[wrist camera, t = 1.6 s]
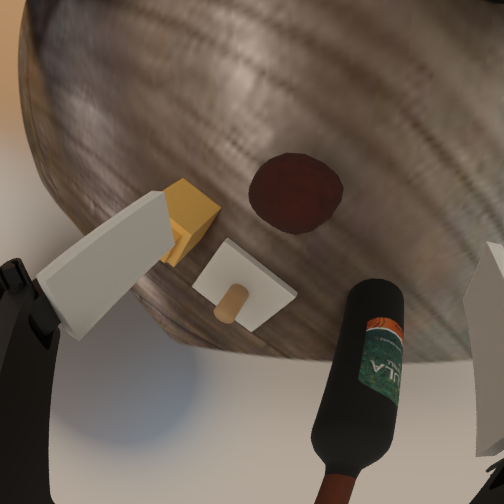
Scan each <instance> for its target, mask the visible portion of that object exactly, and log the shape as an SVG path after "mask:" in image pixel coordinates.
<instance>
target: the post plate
mask: <svg viewBox="0 0 504 504" xmlns="http://www.w3.org/2000/svg"><path fill="white" fill-rule="evenodd" d="M192 287H193V288H194V289H195V290H197V291H198V292H199V293H200V294H202V295H203V296H204V297H206V298H207V299H208V300H209V301H211V302H212V303H213V304H215V305H216V308H215V309H214V315H215V316H216V318H217V319H218V320H220V321H221V322H223V323H227V324H230V323H232V322H233V321H234V320H236V321H237V322H238V323H240V324H241V325H242V326H244V327H245V328H246V329H248V330H249V331H250V332H252V331H254V330H255V329H256V328H258V327H259V326H260V325H261V324H263V323H264V322H265V321H267V320H268V319H269V318H271V317H272V316H273V315H274V314H276V313H277V312H278V311H279V310H281V309H282V308H283V307H285V306H286V305H287V304H288V303H290V302H291V301H292V300H293V299H295V298H296V296H297V294H298V292H296V291H295V290H294V289H293V288H291V287H290V286H289V285H288V284H286V283H285V282H284V281H282V280H281V279H280V278H279V277H277V276H276V275H275V274H274V273H272V272H271V271H270V270H269V269H267V268H266V267H265V266H263V265H262V264H261V263H260V262H258V261H257V260H256V259H255V258H253V257H252V256H251V255H250V254H248V253H247V252H246V251H245V250H243V249H242V248H241V247H239V246H238V245H237V244H236V243H234V242H233V241H232V240H231V239H229V238H228V237H227V238H226V239H225V241H224V242H223V243H222V245H221V246H220V248H219V249H218V250H217V252H216V253H215V255H214V256H213V257H212V259H211V260H210V262H209V263H208V264H207V266H206V267H205V269H204V270H203V271H202V273H201V274H200V276H199V277H198V279H197V280H196V281H195V283H194V284H193V286H192Z"/></svg>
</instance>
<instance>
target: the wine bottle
mask: <svg viewBox="0 0 504 504" xmlns="http://www.w3.org/2000/svg"><path fill="white" fill-rule="evenodd" d="M403 333H404V299H403V295H402V292H401V291H400V289H399V288H398V287H397V286H396V285H394V284H393V283H391V282H389V281H386V280H383V279H369V280H365V281H362V282H360V283H358V284H357V285H355V286H354V287H353V289H352V290H351V291H350V293H349V296H348V300H347V304H346V309H345V314H344V318H343V322H342V327H341V331H340V335H339V339H338V343H337V347H336V351H335V355H334V359H333V362H332V366H331V370H330V373H329V377H328V381H327V384H326V388H325V391H324V394H323V397H322V401H321V404H320V407H319V410H318V413H317V416H316V419H315V422H314V425H313V428H312V433H311V442H312V445H313V448H314V451H315V452H316V454H317V455H318V456H319V457H320V458H321V459H322V461H323V462H324V463H325V465H326V468H325V469H326V470H325V476H324V479H323V482H322V484H321V487H320V490H319V493H318V496H317V498H316V500H315V503H314V504H348V503H349V500H350V496H351V494H352V491H353V487H354V484H355V481H356V479H357V477H358V475H359V473H360V471H361V470H362V469H363V468H365V467H367V466H369V465H371V464H372V463H374V462H376V461H377V460H379V459H380V458H381V457H382V456H383V455H384V454H385V453H386V452H387V451H388V449H389V448H390V445H391V443H392V440H393V435H394V429H395V423H396V416H397V409H398V401H399V391H400V382H401V371H402V356H403Z"/></svg>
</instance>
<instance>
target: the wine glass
mask: <svg viewBox="0 0 504 504" xmlns="http://www.w3.org/2000/svg"><path fill="white" fill-rule="evenodd" d="M487 1H491V2H494V3H501V4H503V3H504V0H487Z"/></svg>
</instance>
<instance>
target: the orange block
mask: <svg viewBox="0 0 504 504" xmlns="http://www.w3.org/2000/svg"><path fill="white" fill-rule="evenodd" d="M162 192H165V198H166V203H167V208H168V213H169V218H170V223H171V228H172V232H173V237H174V242H175V245H174V246H173V247H172V248H171V249H170V250H169V251H168V252H167V253H166V254H165V255H164V256H163V257H162V258H161V259H160V260H161V261H162V262H163V263H165V262H166V261H167V262H168V263H169V264H170V265H172V266H173V267H175V266H176V265H177V263H178V262H179V261H180V260H181V259H182V258H183V257H184V256H185V255H186V254H187V253H188V252H189V251H190V250H191V249H192V248H193V247H194V246H195V245H196V244H197V243H198V242H199V241H200V240H201V239H202V238H203V236H204V234H205V233H206V231H207V230H208V228H209V226H210V225H211V223H212V222H213V220H214V219H215V217H216V215H217V214H218V212H219V211H220V209H221V207H220V206H219V205H217V204H216V203H215V202H214V201H212V200H211V199H210V198H208V197H207V196H206V195H205V194H203V193H202V192H201V191H199V190H198V189H197V188H196V187H194V186H193V185H192V184H190V183H189V182H188V181H187V180H185V179H184V178H182V179H180V180H179V181H177V182H176V183H174V184H172V185H171V186H169V187H168V188H166V189H165V190H163V191H162Z"/></svg>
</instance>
